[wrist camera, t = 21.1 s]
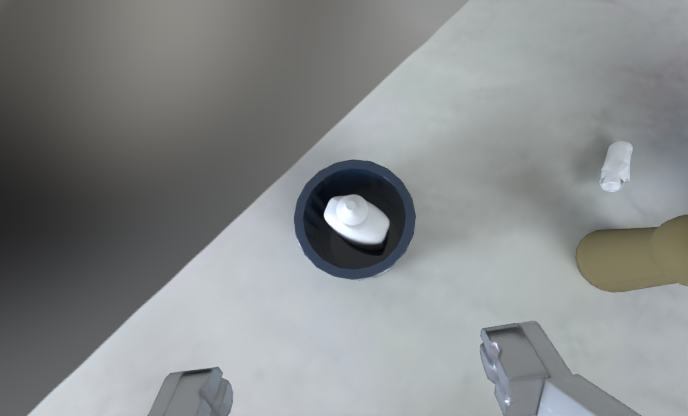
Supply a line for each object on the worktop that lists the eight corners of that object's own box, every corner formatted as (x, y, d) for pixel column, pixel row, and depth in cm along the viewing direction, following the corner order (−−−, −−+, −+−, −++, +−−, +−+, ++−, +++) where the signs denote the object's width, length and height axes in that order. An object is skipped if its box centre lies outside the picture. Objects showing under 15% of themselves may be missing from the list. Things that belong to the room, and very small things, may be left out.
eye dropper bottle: (361, 199, 35) (351, 157, 24) (394, 239, 34) (400, 216, 22) (329, 223, 35) (303, 194, 23) (361, 265, 34) (350, 256, 22)
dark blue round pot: (397, 178, 36) (401, 150, 28) (416, 271, 33) (427, 267, 26) (307, 195, 37) (287, 171, 29) (320, 287, 34) (301, 288, 26)
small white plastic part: (645, 163, 33) (671, 151, 30) (600, 199, 33) (622, 190, 30) (616, 138, 34) (639, 125, 31) (573, 173, 34) (592, 162, 31)
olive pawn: (613, 218, 32) (727, 186, 22) (658, 271, 31) (805, 265, 20) (562, 249, 32) (651, 232, 22) (605, 304, 31) (723, 315, 20)
